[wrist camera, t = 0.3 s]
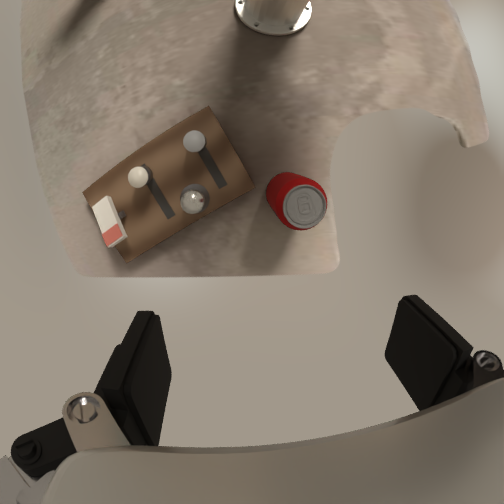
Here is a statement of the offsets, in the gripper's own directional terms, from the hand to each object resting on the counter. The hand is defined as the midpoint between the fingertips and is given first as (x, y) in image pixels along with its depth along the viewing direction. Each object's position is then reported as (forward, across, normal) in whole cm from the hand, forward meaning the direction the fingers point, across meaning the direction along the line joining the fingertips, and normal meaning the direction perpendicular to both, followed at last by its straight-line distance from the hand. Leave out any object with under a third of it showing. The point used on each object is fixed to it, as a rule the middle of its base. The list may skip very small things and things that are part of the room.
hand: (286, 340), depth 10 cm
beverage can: (+36, -7, -1) cm, 37 cm away
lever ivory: (+33, +14, -4) cm, 36 cm away
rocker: (+31, +20, +2) cm, 37 cm away
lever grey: (+33, +6, -9) cm, 35 cm away
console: (+36, +12, -2) cm, 38 cm away
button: (+32, +7, 0) cm, 33 cm away
